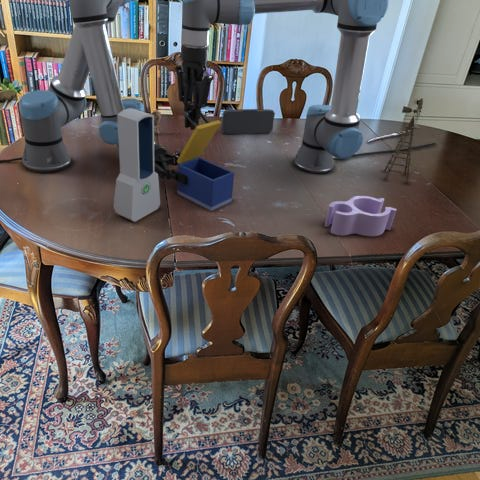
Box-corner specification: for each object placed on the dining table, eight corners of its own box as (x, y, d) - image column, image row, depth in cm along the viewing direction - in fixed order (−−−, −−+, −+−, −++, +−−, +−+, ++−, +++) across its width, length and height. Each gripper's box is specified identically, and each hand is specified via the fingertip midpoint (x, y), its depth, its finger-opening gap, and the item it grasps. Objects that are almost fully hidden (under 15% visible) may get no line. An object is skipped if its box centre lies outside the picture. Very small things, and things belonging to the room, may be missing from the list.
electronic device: (132, 223, 132) (128, 120, 116) (113, 215, 135) (106, 113, 119) (161, 207, 141) (161, 110, 125) (142, 199, 144) (140, 103, 128)
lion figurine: (159, 130, 196) (159, 108, 191) (162, 134, 192) (162, 113, 187) (124, 131, 191) (123, 109, 186) (126, 135, 187) (125, 113, 182)
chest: (231, 201, 149) (234, 172, 144) (211, 210, 143) (213, 181, 137) (198, 184, 157) (199, 156, 151) (177, 193, 150) (177, 164, 145)
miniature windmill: (407, 184, 173) (433, 103, 157) (384, 180, 174) (407, 99, 158) (405, 174, 181) (429, 96, 164) (383, 170, 182) (405, 93, 165)
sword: (405, 131, 224) (406, 128, 224) (410, 133, 222) (411, 130, 222) (362, 142, 208) (362, 140, 208) (367, 144, 206) (368, 142, 206)
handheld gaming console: (270, 130, 208) (273, 108, 202) (272, 133, 206) (275, 110, 200) (221, 132, 201) (222, 109, 195) (222, 134, 199) (224, 111, 193)
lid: (221, 122, 140) (204, 102, 141) (198, 129, 133) (181, 108, 135) (200, 156, 151) (185, 137, 152) (178, 164, 145) (163, 144, 146)
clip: (337, 240, 135) (342, 219, 131) (318, 218, 145) (322, 198, 141) (395, 233, 141) (402, 213, 137) (373, 213, 151) (378, 194, 147)
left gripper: (175, 155, 169) (220, 177, 158) (125, 172, 154) (171, 196, 143) (175, 136, 165) (222, 156, 154) (124, 150, 150) (172, 174, 139)
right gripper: (223, 49, 128) (217, 132, 141) (186, 39, 135) (183, 118, 148) (204, 52, 123) (200, 137, 136) (166, 41, 130) (165, 123, 143)
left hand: (197, 175), depth 148 cm, fingers closed on chest, 10 cm apart
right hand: (191, 127), depth 142 cm, fingers closed on lid, 2 cm apart
